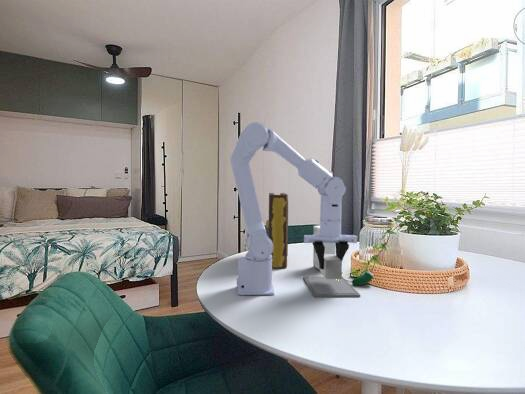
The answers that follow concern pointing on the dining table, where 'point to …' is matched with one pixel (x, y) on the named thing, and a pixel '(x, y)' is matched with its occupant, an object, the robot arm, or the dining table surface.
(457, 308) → the dining table surface
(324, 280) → the mat
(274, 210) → the book
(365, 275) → the gaming controller
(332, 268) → the plug
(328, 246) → the syrup box
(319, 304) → the dining table surface
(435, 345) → the dining table surface
